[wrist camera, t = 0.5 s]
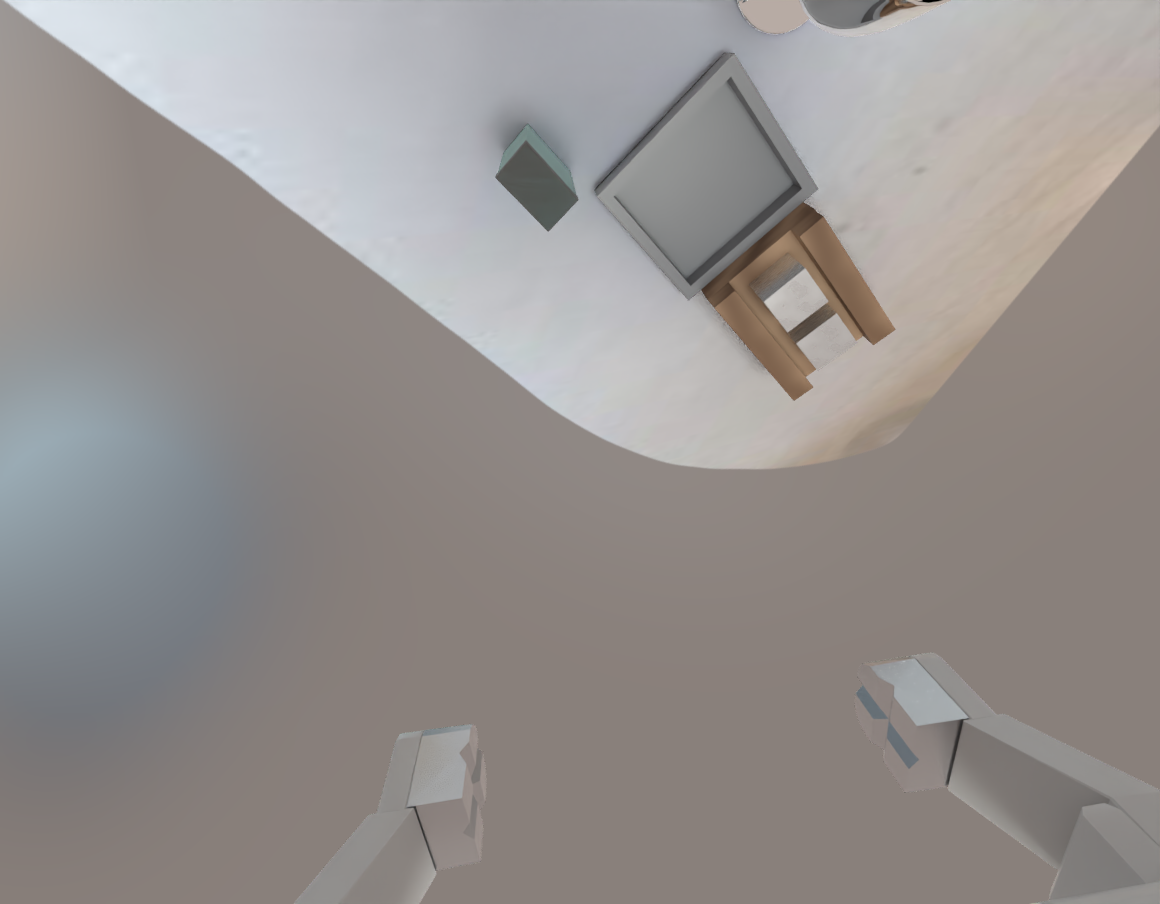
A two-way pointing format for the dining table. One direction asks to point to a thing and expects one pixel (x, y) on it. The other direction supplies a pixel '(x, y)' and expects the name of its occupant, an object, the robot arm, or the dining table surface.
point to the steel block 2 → (822, 337)
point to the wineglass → (833, 14)
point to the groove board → (830, 271)
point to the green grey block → (537, 178)
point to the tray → (707, 179)
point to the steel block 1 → (788, 292)
